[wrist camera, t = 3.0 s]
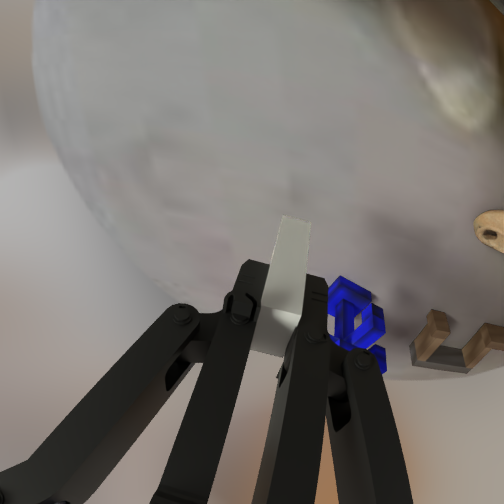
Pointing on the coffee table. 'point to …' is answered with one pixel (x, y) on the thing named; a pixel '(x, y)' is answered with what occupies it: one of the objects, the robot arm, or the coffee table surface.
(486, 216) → the pottery oil lamp
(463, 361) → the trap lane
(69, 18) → the coffee table surface
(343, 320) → the figurine
